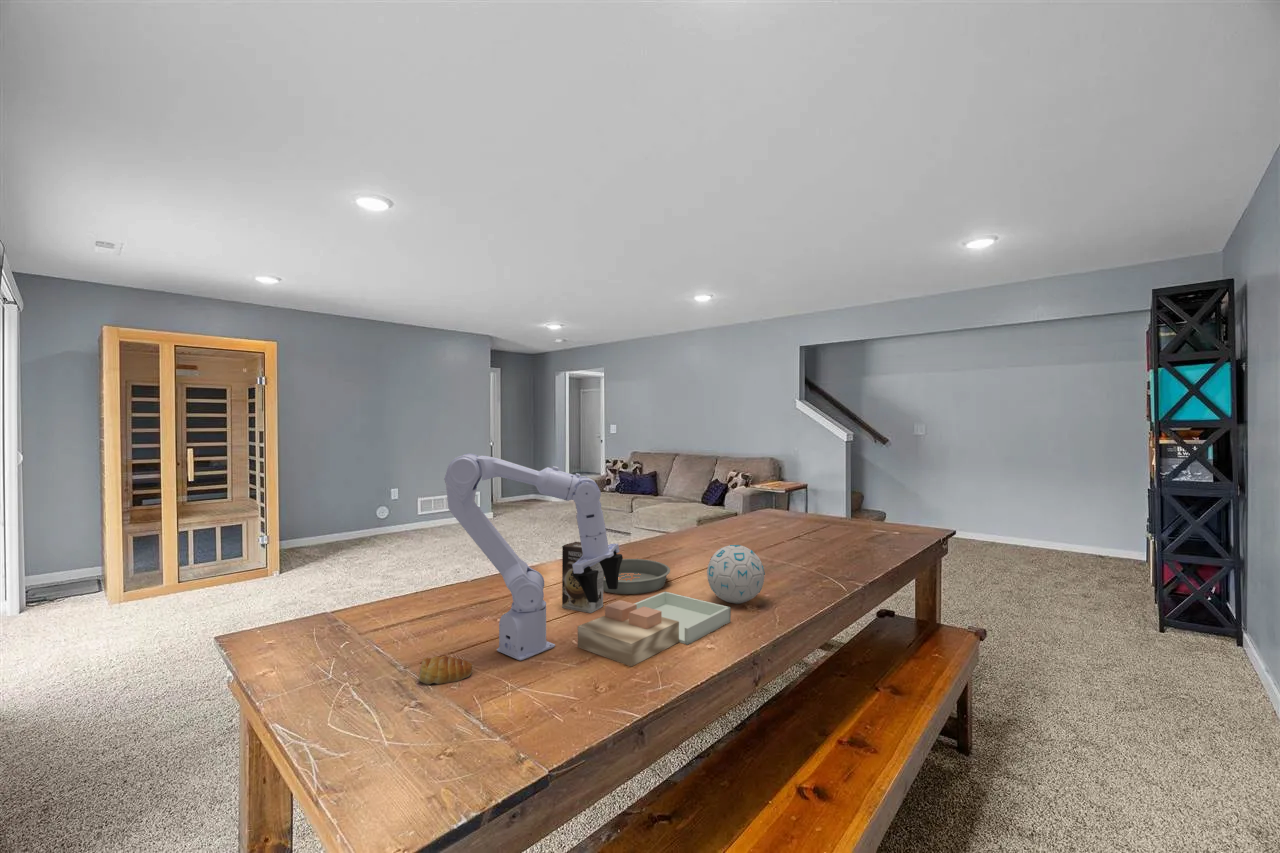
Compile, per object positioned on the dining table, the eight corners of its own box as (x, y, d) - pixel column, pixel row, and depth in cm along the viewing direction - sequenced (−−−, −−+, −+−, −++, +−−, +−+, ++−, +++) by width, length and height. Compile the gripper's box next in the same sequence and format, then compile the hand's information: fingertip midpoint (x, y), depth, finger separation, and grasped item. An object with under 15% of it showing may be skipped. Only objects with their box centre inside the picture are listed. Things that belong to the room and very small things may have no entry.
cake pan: (575, 578, 176) (575, 563, 176) (648, 569, 186) (648, 555, 186) (605, 601, 154) (605, 584, 154) (685, 590, 164) (685, 574, 164)
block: (631, 666, 113) (631, 643, 113) (577, 647, 123) (577, 626, 122) (678, 642, 125) (678, 621, 125) (626, 626, 135) (626, 607, 135)
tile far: (621, 621, 125) (621, 610, 125) (605, 616, 128) (605, 605, 128) (636, 615, 129) (636, 604, 129) (619, 610, 132) (619, 599, 132)
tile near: (647, 629, 121) (647, 617, 121) (628, 623, 124) (628, 612, 124) (661, 622, 125) (661, 611, 125) (643, 617, 128) (643, 606, 128)
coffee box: (560, 608, 148) (560, 545, 147) (575, 601, 153) (575, 540, 153) (591, 613, 143) (591, 549, 143) (604, 606, 149) (604, 544, 149)
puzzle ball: (775, 607, 149) (776, 549, 148) (724, 614, 143) (725, 554, 143) (744, 590, 163) (744, 537, 162) (696, 596, 157) (696, 542, 157)
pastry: (473, 667, 113) (473, 648, 113) (470, 683, 106) (470, 663, 106) (423, 672, 111) (423, 652, 111) (417, 688, 104) (416, 667, 104)
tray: (687, 644, 124) (687, 628, 124) (619, 623, 136) (619, 609, 136) (730, 621, 138) (730, 607, 138) (665, 604, 150) (665, 591, 150)
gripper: (587, 543, 115) (599, 609, 116) (626, 523, 128) (636, 583, 128) (560, 543, 119) (571, 607, 119) (600, 524, 131) (610, 582, 132)
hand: (603, 595), depth 124 cm, fingers open, 7 cm apart
